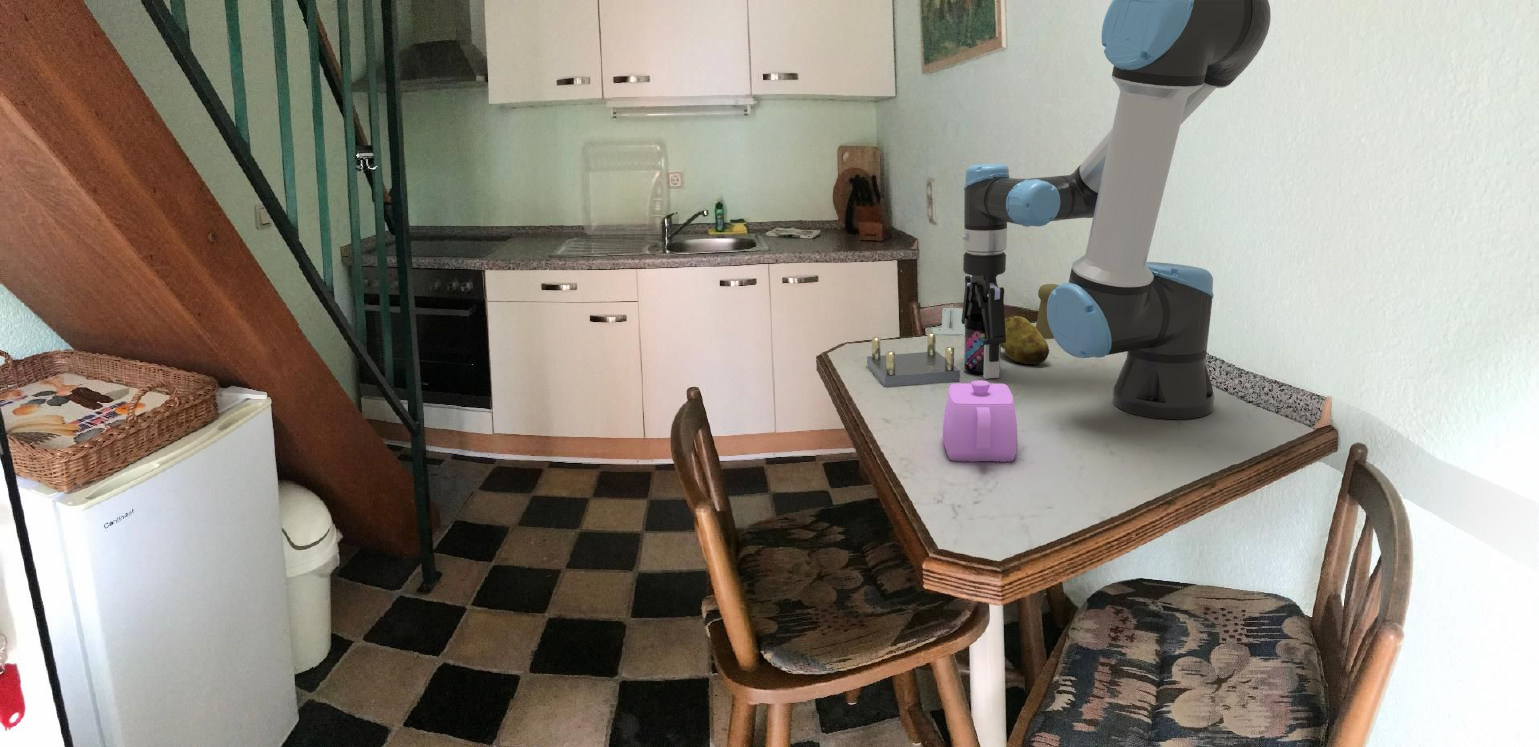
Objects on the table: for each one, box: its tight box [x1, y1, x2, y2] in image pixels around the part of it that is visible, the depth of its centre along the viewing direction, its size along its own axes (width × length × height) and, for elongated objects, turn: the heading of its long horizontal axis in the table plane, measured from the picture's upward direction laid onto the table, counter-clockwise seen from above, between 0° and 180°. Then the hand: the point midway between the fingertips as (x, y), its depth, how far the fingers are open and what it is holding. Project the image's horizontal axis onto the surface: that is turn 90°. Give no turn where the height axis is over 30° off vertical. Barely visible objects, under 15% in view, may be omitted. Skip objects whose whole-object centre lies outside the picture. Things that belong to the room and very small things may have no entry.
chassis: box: [866, 332, 961, 388], centre depth 168 cm, size 14×14×6 cm
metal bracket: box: [931, 304, 983, 337], centre depth 200 cm, size 14×6×15 cm
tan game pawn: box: [1035, 283, 1061, 340], centre depth 191 cm, size 6×6×11 cm
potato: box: [1001, 315, 1050, 365], centre depth 174 cm, size 8×13×8 cm, turn 0°
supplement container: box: [963, 314, 1002, 376], centre depth 167 cm, size 7×7×10 cm
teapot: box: [942, 380, 1018, 463], centre depth 131 cm, size 18×10×10 cm, turn 171°
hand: (981, 370), depth 169 cm, fingers open, 9 cm apart
